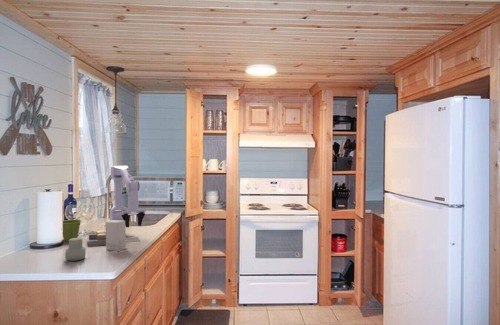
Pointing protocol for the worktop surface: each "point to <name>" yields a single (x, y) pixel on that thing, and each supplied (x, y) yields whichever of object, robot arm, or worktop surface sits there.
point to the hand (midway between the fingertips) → (133, 226)
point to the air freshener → (75, 250)
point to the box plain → (99, 233)
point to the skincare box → (115, 235)
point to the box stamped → (101, 236)
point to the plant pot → (70, 229)
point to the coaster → (132, 239)
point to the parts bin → (95, 241)
